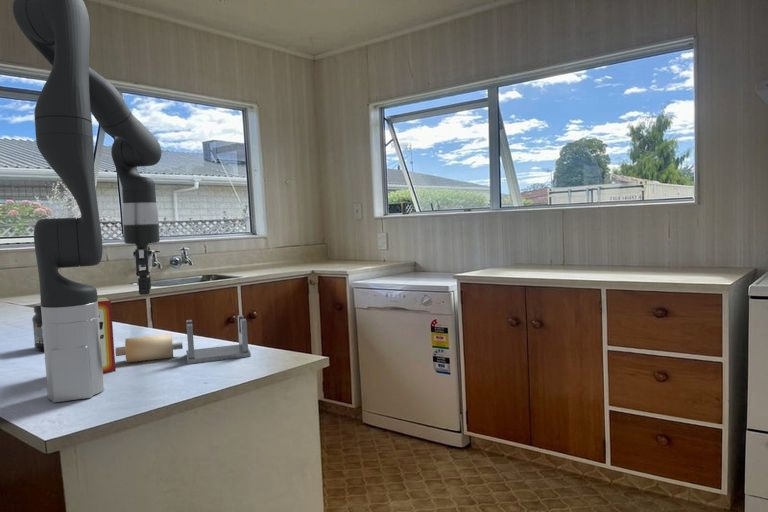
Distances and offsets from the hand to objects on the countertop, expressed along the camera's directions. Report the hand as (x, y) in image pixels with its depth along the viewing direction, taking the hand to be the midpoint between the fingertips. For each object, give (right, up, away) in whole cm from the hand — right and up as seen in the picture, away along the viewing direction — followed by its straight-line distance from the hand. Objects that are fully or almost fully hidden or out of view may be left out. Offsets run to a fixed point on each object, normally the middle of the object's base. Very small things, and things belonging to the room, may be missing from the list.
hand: (145, 292), depth 126 cm
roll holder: (+16, -15, +3) cm, 22 cm away
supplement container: (-32, -16, +18) cm, 40 cm away
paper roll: (+1, -16, +1) cm, 16 cm away
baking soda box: (-9, -17, -8) cm, 21 cm away
